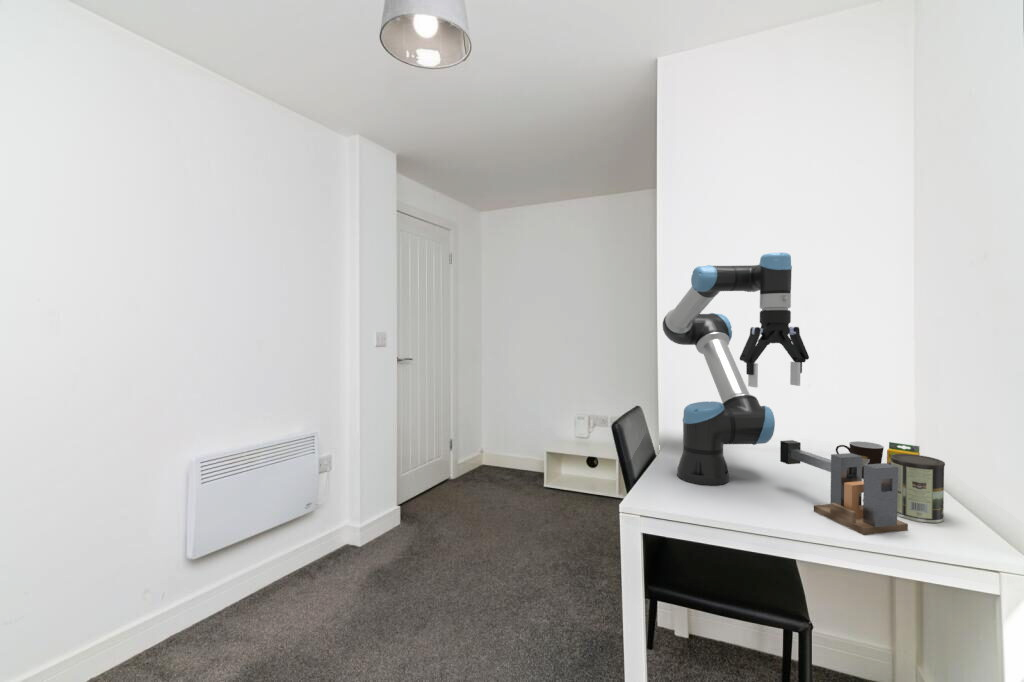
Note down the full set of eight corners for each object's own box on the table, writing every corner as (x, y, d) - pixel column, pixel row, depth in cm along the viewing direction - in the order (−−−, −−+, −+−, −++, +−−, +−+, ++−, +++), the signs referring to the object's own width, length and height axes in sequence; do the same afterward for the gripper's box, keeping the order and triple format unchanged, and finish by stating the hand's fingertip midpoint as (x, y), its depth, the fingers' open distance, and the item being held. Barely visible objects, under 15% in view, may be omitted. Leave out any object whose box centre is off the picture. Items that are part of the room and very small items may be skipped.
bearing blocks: (830, 507, 119) (831, 454, 119) (850, 505, 120) (851, 453, 120) (875, 527, 107) (876, 468, 107) (897, 525, 108) (898, 466, 108)
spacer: (843, 515, 114) (844, 482, 114) (870, 512, 116) (871, 480, 116) (851, 518, 112) (852, 485, 112) (878, 515, 114) (879, 482, 114)
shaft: (780, 461, 137) (780, 440, 137) (792, 460, 138) (792, 440, 138) (838, 483, 118) (838, 459, 118) (851, 482, 119) (852, 458, 118)
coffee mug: (890, 479, 145) (890, 447, 144) (869, 482, 142) (869, 449, 142) (853, 468, 156) (853, 438, 156) (833, 470, 153) (833, 440, 153)
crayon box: (886, 481, 143) (886, 443, 142) (888, 479, 145) (888, 441, 145) (917, 487, 138) (918, 447, 137) (919, 485, 140) (919, 446, 139)
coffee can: (924, 508, 122) (925, 454, 122) (955, 524, 112) (956, 465, 112) (880, 505, 124) (881, 452, 123) (906, 522, 114) (907, 464, 113)
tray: (813, 511, 121) (813, 495, 120) (853, 507, 123) (853, 492, 123) (863, 534, 107) (864, 517, 107) (907, 530, 109) (908, 513, 109)
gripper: (744, 309, 124) (744, 389, 125) (824, 309, 129) (823, 386, 130) (726, 310, 132) (725, 385, 132) (802, 310, 137) (801, 382, 137)
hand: (774, 386), depth 131 cm, fingers open, 13 cm apart
